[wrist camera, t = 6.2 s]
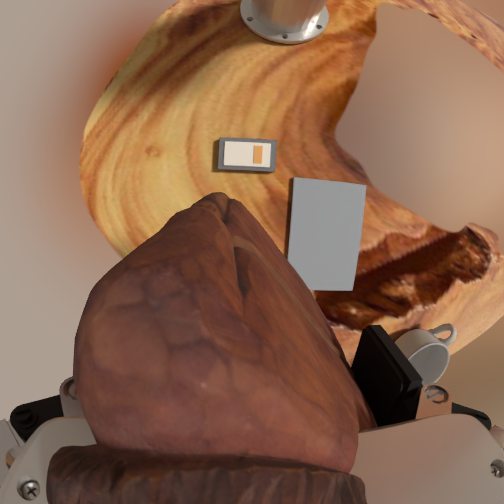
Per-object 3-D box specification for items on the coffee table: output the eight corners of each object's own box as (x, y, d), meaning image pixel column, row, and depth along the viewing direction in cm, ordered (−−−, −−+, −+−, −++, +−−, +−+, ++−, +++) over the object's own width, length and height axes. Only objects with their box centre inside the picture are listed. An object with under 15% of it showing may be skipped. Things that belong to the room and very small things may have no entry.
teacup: (390, 378, 44) (407, 404, 36) (370, 348, 41) (388, 376, 34) (444, 333, 42) (466, 354, 34) (431, 297, 39) (457, 317, 32)
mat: (293, 177, 34) (294, 177, 33) (364, 185, 34) (366, 185, 34) (284, 287, 38) (284, 289, 37) (350, 288, 38) (352, 290, 38)
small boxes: (220, 138, 32) (219, 137, 31) (275, 141, 33) (277, 139, 31) (215, 313, 39) (214, 318, 37) (264, 315, 39) (264, 320, 38)
